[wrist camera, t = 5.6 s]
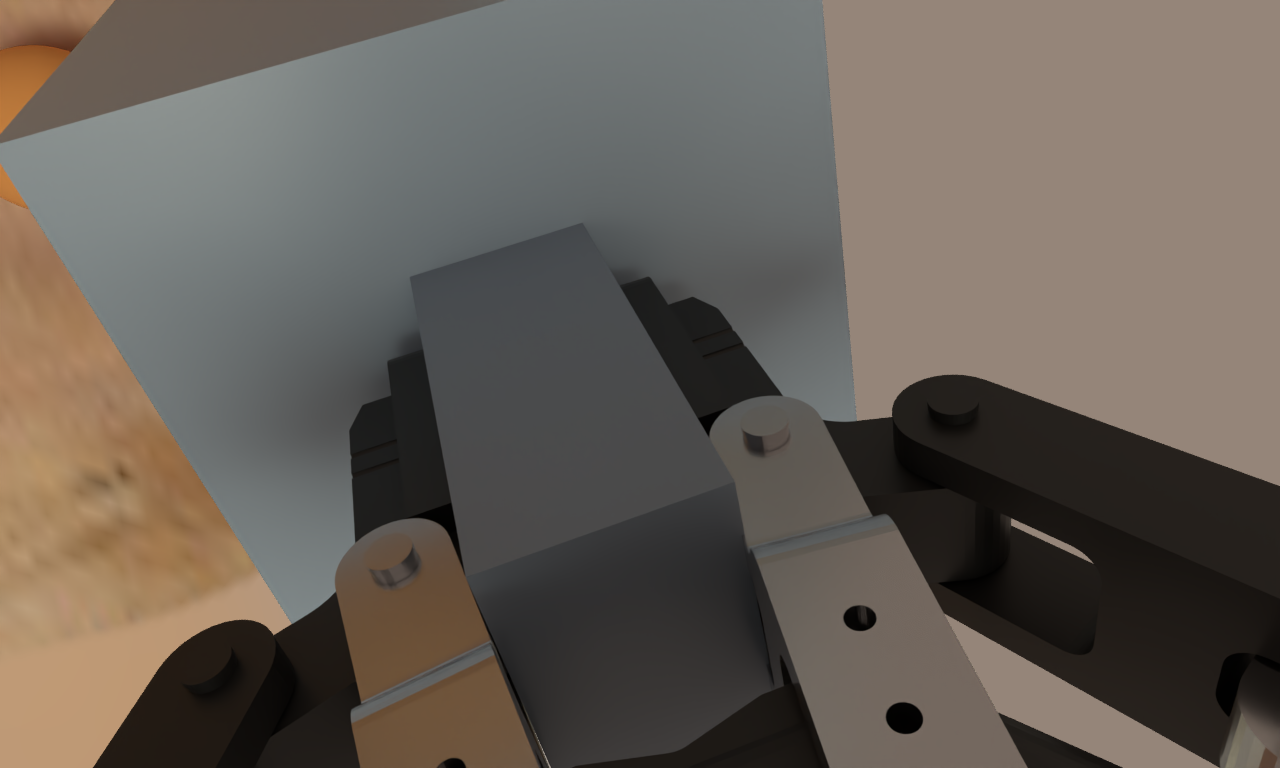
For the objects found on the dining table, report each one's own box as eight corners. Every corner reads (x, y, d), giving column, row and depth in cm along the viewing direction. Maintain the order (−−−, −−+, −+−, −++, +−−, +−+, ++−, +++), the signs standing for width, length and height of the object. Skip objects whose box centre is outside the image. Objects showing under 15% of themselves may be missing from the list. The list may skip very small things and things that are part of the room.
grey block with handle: (118, -4, 18) (-278, 452, 6) (629, -141, 19) (1155, 11, 7) (327, 414, 24) (340, 1064, 12) (707, 290, 25) (1066, 767, 13)
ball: (-60, 54, 30) (-117, 101, 26) (101, 8, 30) (70, 47, 26) (33, 198, 32) (-4, 260, 29) (178, 153, 33) (161, 208, 29)
